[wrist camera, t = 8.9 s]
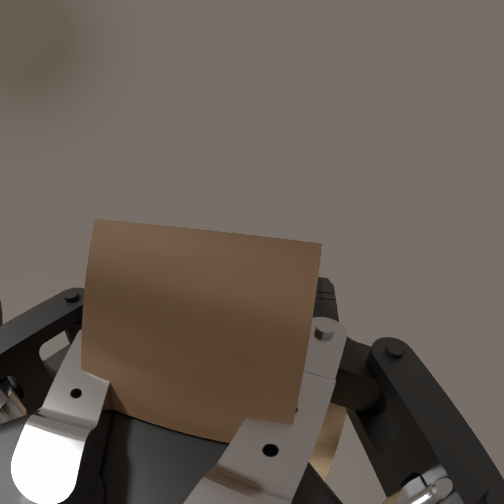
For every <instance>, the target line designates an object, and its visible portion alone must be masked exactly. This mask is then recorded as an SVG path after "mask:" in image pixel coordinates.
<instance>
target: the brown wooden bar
mask: <svg viewBox="0 0 504 504" xmlns="http://www.w3.org/2000/svg"><path fill="white" fill-rule="evenodd" d="M321 246H322V244H320V243H312V242H303V241H295V240H287V239H279V238H270V237H262V236H253V235H245V234H236V233H227V232H218V231H209V230H200V229H189V228H179V227H171V226H161V225H151V224H140V223H130V222H120V221H110V220H109V221H108V220H99V219H95V221H94V227H93V232H92V238H91V244H90V250H89V258H88V265H87V272H86V282H85V290H84V302H83V316H82V338H81V370H82V371H85V372H87V373H89V374H92V375H94V376H97V377H99V378H102V379H104V380H107V381H110V386H111V394H112V401H113V408H114V410H116V411H119V412H121V413H124V414H127V415H129V416H132V417H135V418H138V419H141V420H144V421H146V422H149V423H153V424H156V425H159V426H162V427H165V428H169V429H172V430H176V431H179V432H183V433H186V434H190V435H194V436H198V437H202V438H207V439H211V440H216V441H221V442H225V443H230V442H231V441H232V439H233V438H234V436H235V435H236V433H237V431H238V430H239V428H240V427H241V425H242V423H243V422H244V420H245V418H249V419H255V420H262V421H269V422H277V423H286V424H293V422H294V417H295V413H296V408H297V403H298V398H299V393H300V388H301V383H302V378H303V372H304V367H305V361H306V356H307V350H308V344H309V337H310V331H311V325H312V318H313V311H314V304H315V297H316V289H317V281H318V273H319V264H320V256H321Z"/></svg>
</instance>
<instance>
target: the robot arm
mask: <svg viewBox="0 0 504 504" xmlns="http://www.w3.org/2000/svg"><path fill="white" fill-rule="evenodd" d="M84 290H85V289H83V288H71V289H68V290H65V291H63V292H61V293H59V294H57V295H55V296H54V297H52V298H50V299H48V300H46V301H44V302H42V303H41V304H39V305H37V306H35V307H33V308H31V309H30V310H28V311H26V312H24V313H22V314H21V315H19V316H17V317H15V318H14V319H12V320H10V321H8V322H7V323H5V324H3V325H2V307H1V301H0V504H343V503H342V502H341V501H340V500H339V499H338V497H337V496H336V495H335V494H334V492H333V491H332V490H331V489H330V488H329V486H328V485H327V484H326V483H325V481H324V480H323V479H322V478H321V476H320V475H319V474H318V473H317V471H316V470H315V469H314V468H313V466H312V465H311V464H310V462H309V459H310V456H311V454H312V451H313V449H314V446H315V443H316V441H317V438H318V435H319V432H320V430H321V427H322V424H323V421H324V418H325V415H326V412H327V409H328V406H329V403H330V402H331V403H333V404H336V405H339V406H342V407H345V408H346V411H347V414H348V416H349V418H350V420H351V422H352V424H353V426H354V428H355V430H356V432H357V434H358V436H359V439H360V441H361V443H362V445H363V447H364V449H365V451H366V453H367V456H368V458H369V460H370V462H371V464H372V466H373V468H374V471H375V473H376V475H377V477H378V479H379V481H380V483H381V486H382V488H383V490H384V492H385V494H386V496H387V499H386V500H385V501H384V503H383V504H504V479H503V478H502V476H501V474H500V473H499V471H498V469H497V468H496V466H495V465H494V463H493V461H492V460H491V458H490V457H489V455H488V454H487V452H486V450H485V449H484V447H483V446H482V444H481V443H480V441H479V440H478V439H477V437H476V435H475V434H474V432H473V431H472V429H471V428H470V427H469V425H468V424H467V422H466V421H465V419H464V418H463V417H462V415H461V414H460V412H459V411H458V410H457V408H456V407H455V406H454V404H453V403H452V401H451V400H450V398H449V397H448V396H447V394H446V393H445V392H444V391H443V389H442V388H441V386H440V385H439V384H438V383H437V381H436V380H435V378H434V377H433V376H432V374H431V373H430V372H429V371H428V369H427V368H426V367H425V365H424V364H423V363H422V362H421V361H420V359H419V358H418V356H417V355H416V354H415V353H414V352H413V350H412V349H411V348H410V347H409V346H408V345H407V344H406V343H404V342H403V341H401V340H399V339H395V338H391V337H385V338H380V339H378V340H376V341H375V342H374V343H373V345H372V347H371V346H367V345H364V344H361V343H358V342H355V341H353V340H351V339H350V338H348V337H347V332H346V329H345V328H344V326H343V325H342V324H340V323H339V318H338V311H337V304H336V298H335V291H334V285H333V284H332V283H331V282H330V281H329V280H328V278H321V277H318V281H317V289H316V297H315V304H314V311H313V318H312V325H311V331H310V337H309V344H308V350H307V356H306V361H305V367H304V372H303V378H302V383H301V388H300V393H299V398H298V403H297V408H296V413H295V417H294V422H293V424H286V423H277V422H269V421H262V420H255V419H249V418H245V420H244V422H243V423H242V425H241V427H240V428H239V430H238V431H237V433H236V435H235V436H234V438H233V439H232V441H231V442H230V443H225V442H221V441H216V440H211V439H207V438H202V437H198V436H194V435H190V434H186V433H183V432H179V431H176V430H172V429H169V428H165V427H162V426H159V425H156V424H153V423H149V422H146V421H144V420H141V419H138V418H135V417H132V416H129V415H127V414H124V413H121V412H119V411H116V410H114V408H113V401H112V394H111V386H110V381H107V380H104V379H102V378H99V377H97V376H94V375H92V374H89V373H87V372H85V371H82V370H81V338H82V316H83V302H84ZM64 330H65V333H66V335H67V338H68V341H69V343H70V344H69V345H67V346H66V347H64V348H63V349H61V350H60V351H58V352H57V353H55V354H53V355H52V356H51V357H49V358H47V359H46V360H44V361H42V360H41V358H40V355H39V350H40V347H41V346H42V344H44V343H45V342H47V341H48V340H50V339H52V338H53V337H55V336H56V335H58V334H60V333H61V332H63V331H64ZM7 376H8V377H7ZM41 407H42V408H41ZM39 408H41V410H38V409H39ZM36 410H38V411H36Z"/></svg>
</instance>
